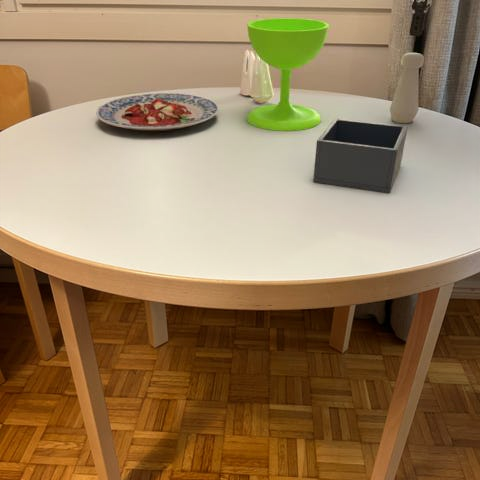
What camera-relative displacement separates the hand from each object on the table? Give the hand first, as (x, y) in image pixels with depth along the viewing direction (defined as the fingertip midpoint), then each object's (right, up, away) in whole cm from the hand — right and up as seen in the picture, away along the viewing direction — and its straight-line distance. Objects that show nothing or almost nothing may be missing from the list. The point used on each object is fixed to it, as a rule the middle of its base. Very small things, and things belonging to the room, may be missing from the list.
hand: (417, 32), depth 103 cm
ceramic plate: (-52, -13, +11) cm, 55 cm away
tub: (-15, -31, -13) cm, 37 cm away
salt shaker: (0, -13, +10) cm, 17 cm away
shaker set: (-31, -3, +24) cm, 39 cm away
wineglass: (-25, -13, +11) cm, 30 cm away
